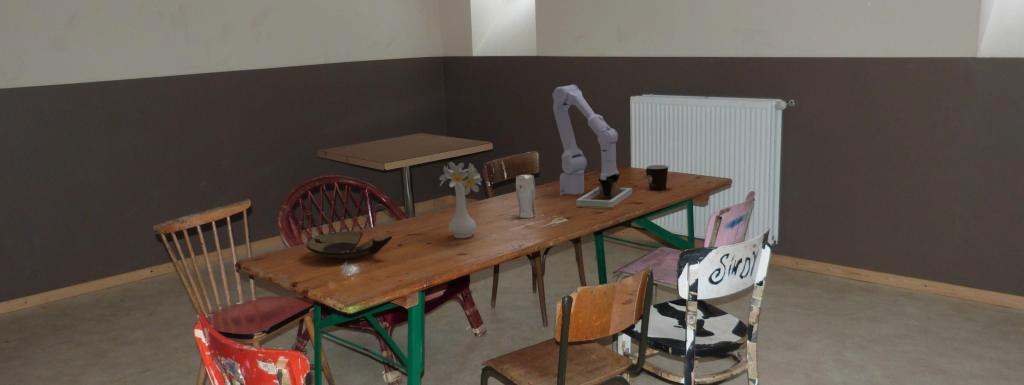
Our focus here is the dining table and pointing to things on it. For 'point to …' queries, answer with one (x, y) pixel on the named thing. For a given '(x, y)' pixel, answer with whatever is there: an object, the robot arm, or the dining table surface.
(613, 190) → the cardboard box
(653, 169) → the coffee mug
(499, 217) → the dining table surface
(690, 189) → the dining table surface
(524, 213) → the beer glass
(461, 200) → the flower vase
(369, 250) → the oil lamp
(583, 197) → the bay
